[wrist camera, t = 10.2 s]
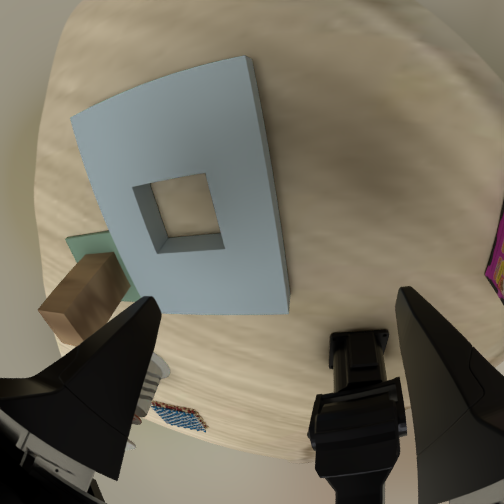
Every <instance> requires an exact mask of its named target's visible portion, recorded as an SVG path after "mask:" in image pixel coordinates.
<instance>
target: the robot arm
mask: <svg viewBox="0 0 504 504" xmlns="http://www.w3.org/2000/svg"><path fill="white" fill-rule="evenodd" d="M395 311H396V318H397V326H398V334H399V342H400V350H401V355H402V360H403V365H404V369H405V374H406V380H407V385H408V391H409V397H410V403H411V409H412V417H413V424H414V433H415V442H416V453H417V468H418V504H438V503H442V502H445V501H449V504H504V376H503V375H502V374H501V373H500V372H499V371H497V370H496V369H495V368H494V367H493V366H492V365H491V364H490V363H489V362H488V361H487V360H486V359H485V358H484V357H483V356H482V355H481V354H480V353H479V352H478V351H477V350H476V349H475V348H474V347H472V345H471V344H470V342H469V341H468V340H467V339H466V338H465V337H464V336H463V335H462V334H461V333H460V332H459V331H458V330H457V329H456V328H455V327H454V326H453V325H452V324H451V323H450V322H449V321H448V320H447V319H446V318H445V317H443V316H442V315H441V314H440V313H439V312H438V311H437V310H436V309H435V308H434V307H433V306H432V305H431V304H430V303H429V302H428V301H427V300H425V299H424V298H423V297H422V296H421V295H420V294H419V293H418V292H417V291H416V290H414V289H413V288H412V287H411V286H405V287H400V288H399V290H398V295H397V300H396V305H395ZM161 316H162V314H161V310H160V308H159V306H158V304H157V302H156V300H155V298H154V297H153V296H143V297H141V298H140V299H139V300H137V301H136V302H135V303H133V304H132V305H131V306H129V307H128V308H127V309H125V310H124V311H123V312H121V313H120V314H119V315H117V316H116V317H115V318H113V319H112V320H111V321H109V322H108V323H107V324H105V325H104V326H103V327H101V328H100V329H99V330H97V331H96V332H95V333H93V334H92V335H91V336H89V337H88V338H87V339H86V340H84V341H83V342H82V343H80V345H78V346H76V347H75V348H74V349H73V350H71V351H70V352H69V353H67V354H66V355H65V356H63V357H62V358H60V359H59V360H58V361H56V362H54V363H53V364H52V365H50V366H49V367H47V368H46V369H44V370H43V371H41V372H40V373H38V374H37V375H35V376H32V377H29V378H0V504H107V503H105V501H104V499H103V496H102V494H101V492H100V489H99V487H98V484H97V482H96V480H95V479H93V475H94V472H95V471H96V472H98V473H100V474H102V475H105V476H107V477H109V478H111V479H113V480H116V481H118V478H119V474H120V469H121V465H122V461H123V457H124V452H125V448H126V444H127V441H128V438H127V437H128V436H129V432H130V429H131V425H132V421H133V418H134V414H135V411H136V407H137V403H138V400H139V397H140V393H141V390H142V386H143V383H144V380H145V377H146V373H147V370H148V367H149V364H150V361H151V358H152V355H153V351H154V347H155V343H156V339H157V334H158V330H159V325H160V321H161ZM388 337H389V332H388V330H377V331H365V332H352V333H337V334H332V335H331V336H330V351H329V368H330V369H333V371H334V393H329V394H323V395H322V394H318V395H316V400H315V402H314V406H313V411H312V416H311V420H310V425H309V430H308V433H307V436H308V438H309V439H310V441H311V445H312V448H313V449H314V451H316V460H315V470H316V472H317V473H318V475H319V477H320V478H325V479H326V480H327V481H328V483H329V484H330V485H331V487H332V488H333V489H334V490H335V492H336V504H385V481H386V479H387V477H388V476H389V474H390V472H391V470H392V469H393V467H394V465H395V463H396V461H397V459H398V457H399V455H400V441H399V437H403V436H407V426H406V416H405V408H404V401H403V395H402V388H401V383H400V377H396V378H394V379H392V380H388V381H387V377H386V370H385V363H384V357H383V355H384V351H385V348H386V344H387V341H388Z"/></svg>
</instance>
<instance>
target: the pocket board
mask: <svg viewBox="0 0 504 504" xmlns="http://www.w3.org/2000/svg"><path fill="white" fill-rule="evenodd" d="M70 119H71V123H72V127H73V130H74V134H75V137H76V141H77V144H78V147H79V151H80V154H81V157H82V160H83V163H84V166H85V169H86V172H87V175H88V178H89V181H90V183H91V186H92V189H93V192H94V194H95V197H96V200H97V202H98V205H99V207H100V210H101V212H102V215H103V217H104V220H105V222H106V224H107V227H108V229H109V232H110V234H111V236H112V238H113V241H114V243H115V245H116V247H117V250H118V252H119V254H120V256H121V258H122V260H123V262H124V265H125V267H126V269H127V271H128V273H129V275H130V277H131V279H132V281H133V283H134V285H135V287H136V289H137V291H138V293H139V294H140V296H141V297H143V296H153V297H154V298H155V300H156V302H157V304H158V306H159V308H160V310H161V313H165V314H196V315H273V314H289V304H290V288H289V281H288V273H287V265H286V258H285V251H284V244H283V236H282V230H281V223H280V216H279V209H278V203H277V196H276V190H275V184H274V177H273V171H272V165H271V159H270V153H269V147H268V142H267V136H266V130H265V125H264V119H263V114H262V108H261V103H260V98H259V92H258V87H257V82H256V77H255V72H254V67H253V62H252V59H251V58H249V57H247V56H239V57H234V58H230V59H225V60H221V61H217V62H212V63H208V64H205V65H201V66H197V67H193V68H190V69H187V70H183V71H180V72H177V73H173V74H170V75H167V76H164V77H161V78H159V79H156V80H153V81H150V82H147V83H145V84H142V85H139V86H137V87H134V88H132V89H129V90H127V91H125V92H122V93H120V94H118V95H115V96H113V97H111V98H109V99H106V100H104V101H102V102H100V103H98V104H96V105H94V106H92V107H90V108H88V109H86V110H84V111H82V112H80V113H78V114H76V115H74V116H72V117H71V118H70ZM201 173H205V174H206V178H207V182H208V185H209V189H210V193H211V197H212V201H213V205H214V209H215V213H216V216H217V220H218V224H219V228H220V231H221V233H218V234H206V235H195V236H185V237H174V238H168V236H167V233H166V230H165V227H164V225H163V222H162V219H161V216H160V213H159V210H158V207H157V204H156V201H155V198H154V195H153V192H152V189H151V186H150V183H153V182H158V181H163V180H168V179H173V178H178V177H184V176H189V175H195V174H201Z"/></svg>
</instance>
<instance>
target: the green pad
mask: <svg viewBox="0 0 504 504" xmlns="http://www.w3.org/2000/svg"><path fill="white" fill-rule="evenodd" d="M65 240H66V242H67V244H68V246H69V248H70V250H71V252H72V254H73V256H74V258H75V260H76V262H77V263H78V262H79V261H80V260H81V259H82V258H83V257H84V255H85V254H95V253H106V252H114V253H115V255H116V257H117V260H118V262H119V264H120V266H121V268H122V270H123V272H124V274H125V276H126V278H127V280H128V282H129V284H130V286H131V287H130V288H129V290H128V291H127V293H126V294H125V296H124V297H123V299H122V300H121V301H130V302H136V301H137V300H139V299H140V298H141V296H140V294H139V293H138V291H137V289H136V287H135V285H134V283H133V281H132V279H131V277H130V275H129V273H128V271H127V269H126V267H125V265H124V262H123V260H122V258H121V256H120V254H119V252H118V250H117V247H116V245H115V243H114V241H113V238H112V236H111V234H110V232H109V231H104V232H98V233H91V234H85V235H79V236H73V237H67V238H66V239H65Z"/></svg>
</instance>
